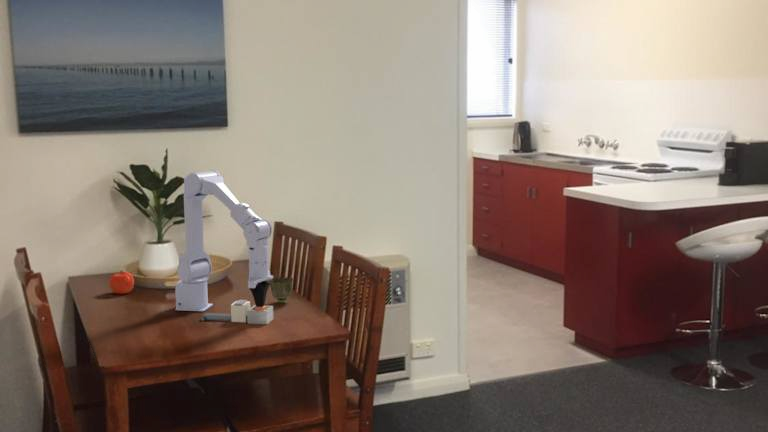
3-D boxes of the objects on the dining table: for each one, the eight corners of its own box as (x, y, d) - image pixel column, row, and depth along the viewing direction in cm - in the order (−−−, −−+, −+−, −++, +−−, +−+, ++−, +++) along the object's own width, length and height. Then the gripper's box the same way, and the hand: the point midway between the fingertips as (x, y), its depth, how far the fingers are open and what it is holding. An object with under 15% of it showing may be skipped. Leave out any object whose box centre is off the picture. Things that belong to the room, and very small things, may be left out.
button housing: (247, 323, 236) (246, 310, 236) (253, 317, 242) (253, 305, 241) (267, 324, 235) (266, 311, 235) (273, 318, 241) (273, 305, 240)
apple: (139, 292, 275) (138, 269, 274) (120, 297, 268) (119, 273, 267) (124, 289, 279) (122, 266, 278) (105, 294, 272) (103, 271, 271)
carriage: (231, 321, 238) (230, 303, 237) (236, 317, 242) (236, 299, 241) (245, 322, 237) (244, 304, 236) (250, 318, 242) (250, 300, 241)
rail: (201, 320, 239) (200, 315, 239) (206, 316, 244) (206, 311, 244) (247, 322, 237) (247, 317, 237) (252, 318, 241) (252, 313, 241)
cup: (289, 306, 255) (288, 281, 253) (267, 305, 256) (266, 281, 255) (296, 300, 262) (295, 276, 261) (275, 299, 263) (274, 275, 262)
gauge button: (253, 314, 237) (253, 307, 237) (257, 311, 240) (256, 304, 240) (263, 314, 237) (263, 307, 236) (266, 312, 239) (266, 305, 239)
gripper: (263, 267, 228) (265, 313, 230) (279, 256, 242) (280, 300, 244) (240, 266, 229) (241, 312, 231) (256, 256, 243) (258, 299, 245)
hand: (260, 306), depth 238 cm, fingers closed, pressing on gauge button
